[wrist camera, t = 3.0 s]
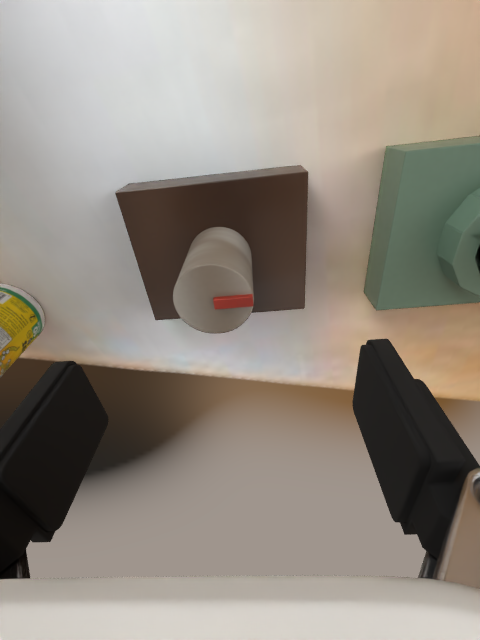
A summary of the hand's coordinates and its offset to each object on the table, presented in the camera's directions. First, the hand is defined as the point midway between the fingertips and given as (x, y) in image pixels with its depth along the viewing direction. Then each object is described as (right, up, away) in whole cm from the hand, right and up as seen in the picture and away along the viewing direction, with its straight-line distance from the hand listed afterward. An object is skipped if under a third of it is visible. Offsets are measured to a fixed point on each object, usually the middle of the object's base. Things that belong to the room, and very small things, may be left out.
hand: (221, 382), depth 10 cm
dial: (-1, +6, +9) cm, 11 cm away
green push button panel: (+16, +9, +10) cm, 21 cm away
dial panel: (-1, +8, +11) cm, 14 cm away
